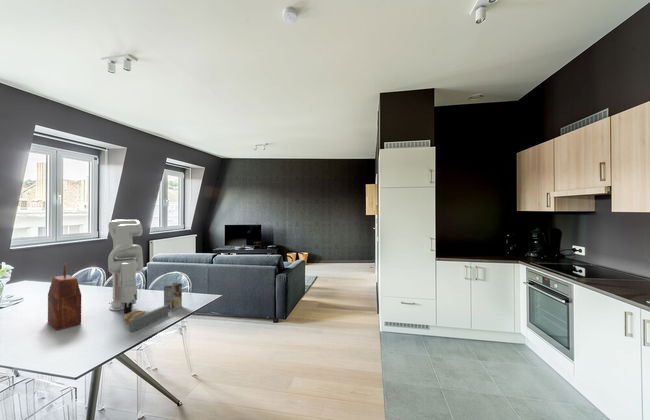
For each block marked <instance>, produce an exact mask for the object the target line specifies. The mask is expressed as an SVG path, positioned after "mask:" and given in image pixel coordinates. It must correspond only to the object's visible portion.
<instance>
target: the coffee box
mask: <svg viewBox="0 0 650 420" xmlns="http://www.w3.org/2000/svg"><path fill="white" fill-rule="evenodd" d="M182 286H183V284H182V283H181V282H180V283H179V282H174V283H170V284H166V285H164V286H163V306H164V305H168V312H173V311H174V310H177V309H179V308H181V307H182V306H183V301H182V300H183V299H182V298H183V297H182V296H183V294H182V293H183V292H182V289H183V287H182Z"/></svg>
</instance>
